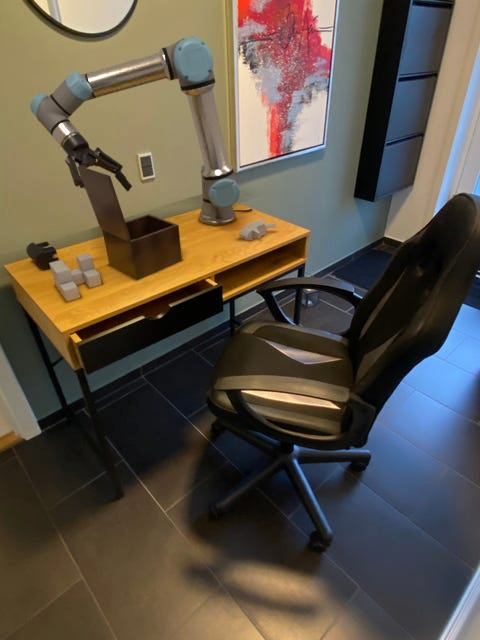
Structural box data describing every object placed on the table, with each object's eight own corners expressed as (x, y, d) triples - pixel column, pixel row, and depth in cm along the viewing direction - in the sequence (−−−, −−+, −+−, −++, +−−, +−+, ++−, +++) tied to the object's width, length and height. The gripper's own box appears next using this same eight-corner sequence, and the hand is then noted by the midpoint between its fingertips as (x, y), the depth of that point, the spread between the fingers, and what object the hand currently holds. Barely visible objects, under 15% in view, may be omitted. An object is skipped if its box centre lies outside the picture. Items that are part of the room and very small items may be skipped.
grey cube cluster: (67, 301, 117) (60, 278, 112) (55, 285, 125) (48, 262, 120) (106, 289, 122) (101, 266, 118) (93, 274, 130) (88, 252, 126)
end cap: (29, 262, 138) (23, 244, 134) (50, 256, 142) (45, 238, 138) (39, 272, 132) (33, 253, 128) (61, 266, 136) (55, 247, 132)
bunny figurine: (233, 227, 153) (261, 213, 160) (235, 239, 156) (261, 225, 163) (251, 234, 147) (278, 219, 154) (251, 246, 150) (278, 231, 158)
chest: (153, 247, 148) (149, 213, 140) (182, 260, 139) (178, 224, 131) (109, 264, 136) (101, 229, 129) (136, 280, 127) (130, 242, 120)
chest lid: (79, 165, 116) (77, 166, 115) (110, 175, 107) (107, 176, 106) (102, 226, 129) (100, 228, 128) (131, 240, 120) (128, 241, 119)
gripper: (95, 142, 139) (135, 191, 142) (36, 157, 121) (83, 212, 124) (103, 126, 134) (145, 177, 137) (43, 139, 116) (92, 198, 119)
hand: (116, 194), depth 130 cm, fingers open, 13 cm apart
